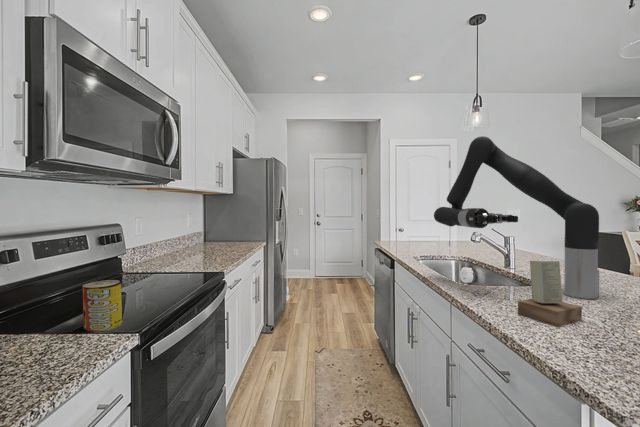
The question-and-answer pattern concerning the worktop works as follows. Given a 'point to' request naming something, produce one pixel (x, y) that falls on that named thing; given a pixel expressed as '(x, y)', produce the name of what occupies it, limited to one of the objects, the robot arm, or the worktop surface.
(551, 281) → the skincare box
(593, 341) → the worktop surface
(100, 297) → the beverage can
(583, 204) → the robot arm
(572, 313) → the walnut block
